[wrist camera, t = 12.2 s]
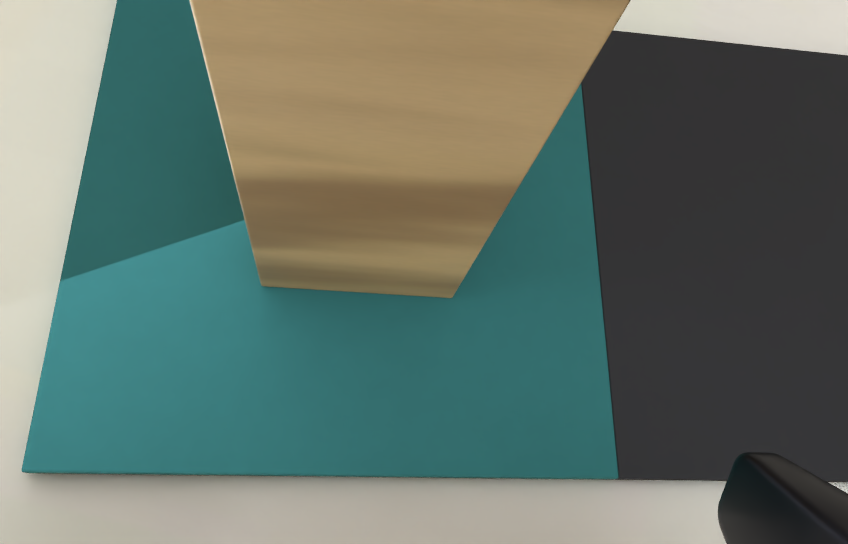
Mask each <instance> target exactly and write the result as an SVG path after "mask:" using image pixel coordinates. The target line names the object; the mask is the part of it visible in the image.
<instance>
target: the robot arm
mask: <svg viewBox="0 0 848 544" xmlns="http://www.w3.org/2000/svg"><path fill="white" fill-rule="evenodd" d="M718 520H719V524H720V528H721V530H722V533H723V536H724V538H725V541H726V543H727V544H848V494H847V493H845V492H844V491H842V490H840V489H838V488H837V487H835V486H833V485H832V484H830V483H828V482H826V481H825V480H823V479H821V478H819V477H818V476H816V475H814V474H812V473H811V472H809V471H807V470H805V469H804V468H802V467H800V466H798V465H797V464H795V463H793V462H791V461H790V460H788V459H786V458H784V457H783V456H781V455H779V454H776V453H770V452H745V453H742V454H740V455H739V456H738V457H737V458H736V459H735V461H734V464H733V466H732V469H731V472H730V474H729V477H728V480H727V483H726V485H725V488H724V491H723V493H722V496H721V499H720V501H719V505H718Z"/></svg>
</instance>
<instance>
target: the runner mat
mask: <svg viewBox="0 0 848 544" xmlns="http://www.w3.org/2000/svg"><path fill="white" fill-rule="evenodd" d="M745 452H770V453H776V454H779V455H781V456H783V457H784V458H786V459H788V460H790V461H791V462H793V463H795V464H797V465H798V466H800V467H802V468H804V469H805V470H807V471H809V472H811V473H812V474H814V475H816V476H818V477H819V478H821V479H823V480H825V481H826V482H848V56H847V55H838V54H828V53H819V52H809V51H800V50H791V49H781V48H772V47H763V46H753V45H744V44H734V43H725V42H716V41H706V40H697V39H687V38H678V37H669V36H659V35H650V34H640V33H631V32H622V31H612V32H611V34H610V35H609V37H608V39H607V40H606V42H605V44H604V45H603V47H602V49H601V50H600V52H599V54H598V55H597V57H596V59H595V60H594V62H593V64H592V65H591V67H590V69H589V70H588V72H587V74H586V75H585V77H584V79H583V80H582V82H581V84H580V85H579V87H578V89H577V90H576V92H575V94H574V95H573V97H572V99H571V100H570V102H569V104H568V105H567V107H566V109H565V110H564V112H563V114H562V115H561V117H560V119H559V120H558V122H557V124H556V126H555V127H554V129H553V131H552V132H551V134H550V136H549V137H548V139H547V141H546V142H545V144H544V146H543V147H542V149H541V151H540V152H539V154H538V156H537V157H536V159H535V161H534V162H533V164H532V166H531V167H530V169H529V171H528V172H527V174H526V176H525V177H524V179H523V181H522V182H521V184H520V186H519V187H518V189H517V191H516V192H515V194H514V196H513V197H512V199H511V201H510V202H509V204H508V206H507V207H506V209H505V211H504V212H503V214H502V216H501V217H500V219H499V221H498V222H497V224H496V226H495V227H494V229H493V231H492V232H491V234H490V236H489V237H488V239H487V241H486V242H485V244H484V246H483V247H482V249H481V251H480V252H479V254H478V256H477V258H476V259H475V261H474V263H473V264H472V266H471V268H470V269H469V271H468V273H467V274H466V276H465V278H464V279H463V281H462V283H461V284H460V286H459V288H458V289H457V291H456V293H455V294H454V296H453V297H452V298H442V297H426V296H410V295H394V294H378V293H362V292H346V291H331V290H315V289H299V288H283V287H267V286H262V285H261V283H260V279H259V275H258V271H257V267H256V263H255V259H254V255H253V251H252V247H251V243H250V239H249V235H248V231H247V227H246V223H245V219H244V215H243V211H242V207H241V203H240V199H239V195H238V191H237V187H236V183H235V179H234V175H233V172H232V168H231V164H230V160H229V156H228V152H227V148H226V144H225V140H224V136H223V132H222V128H221V124H220V120H219V116H218V112H217V108H216V104H215V100H214V96H213V92H212V88H211V84H210V80H209V76H208V72H207V68H206V64H205V60H204V56H203V52H202V48H201V44H200V40H199V36H198V32H197V28H196V24H195V20H194V16H193V12H192V9H191V5H190V1H189V0H117V4H116V9H115V14H114V19H113V24H112V29H111V34H110V39H109V44H108V49H107V53H106V58H105V63H104V68H103V73H102V78H101V83H100V88H99V93H98V98H97V102H96V107H95V112H94V117H93V122H92V127H91V132H90V137H89V142H88V147H87V152H86V156H85V161H84V166H83V171H82V176H81V181H80V186H79V191H78V196H77V201H76V206H75V210H74V215H73V220H72V225H71V230H70V235H69V240H68V245H67V250H66V255H65V260H64V264H63V269H62V274H61V279H60V284H59V289H58V294H57V299H56V304H55V309H54V314H53V318H52V323H51V328H50V333H49V338H48V343H47V348H46V353H45V358H44V363H43V368H42V372H41V377H40V382H39V387H38V392H37V397H36V402H35V407H34V412H33V417H32V422H31V426H30V431H29V436H28V441H27V446H26V451H25V456H24V461H23V466H22V472H26V473H69V474H160V475H250V476H341V477H431V478H521V479H615V480H702V481H727V480H728V477H729V474H730V472H731V469H732V466H733V464H734V461H735V459H736V458H737V457H738V456H739V455H740V454H742V453H745Z"/></svg>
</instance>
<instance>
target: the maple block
mask: <svg viewBox="0 0 848 544" xmlns="http://www.w3.org/2000/svg"><path fill="white" fill-rule="evenodd" d="M189 1H190V5H191V9H192V12H193V16H194V20H195V24H196V28H197V32H198V36H199V40H200V44H201V48H202V52H203V56H204V60H205V64H206V68H207V72H208V76H209V80H210V84H211V88H212V92H213V96H214V100H215V104H216V108H217V112H218V116H219V120H220V124H221V128H222V132H223V136H224V140H225V144H226V148H227V152H228V156H229V160H230V164H231V168H232V172H233V175H234V179H235V183H236V187H237V191H238V195H239V199H240V203H241V207H242V211H243V215H244V219H245V223H246V227H247V231H248V235H249V239H250V243H251V247H252V251H253V255H254V259H255V263H256V267H257V271H258V275H259V279H260V283H261V285H262V286H267V287H283V288H299V289H315V290H331V291H346V292H362V293H378V294H394V295H410V296H426V297H442V298H452V297H453V296H454V294H455V293H456V291H457V289H458V288H459V286H460V284H461V283H462V281H463V279H464V278H465V276H466V274H467V273H468V271H469V269H470V268H471V266H472V264H473V263H474V261H475V259H476V258H477V256H478V254H479V252H480V251H481V249H482V247H483V246H484V244H485V242H486V241H487V239H488V237H489V236H490V234H491V232H492V231H493V229H494V227H495V226H496V224H497V222H498V221H499V219H500V217H501V216H502V214H503V212H504V211H505V209H506V207H507V206H508V204H509V202H510V201H511V199H512V197H513V196H514V194H515V192H516V191H517V189H518V187H519V186H520V184H521V182H522V181H523V179H524V177H525V176H526V174H527V172H528V171H529V169H530V167H531V166H532V164H533V162H534V161H535V159H536V157H537V156H538V154H539V152H540V151H541V149H542V147H543V146H544V144H545V142H546V141H547V139H548V137H549V136H550V134H551V132H552V131H553V129H554V127H555V126H556V124H557V122H558V120H559V119H560V117H561V115H562V114H563V112H564V110H565V109H566V107H567V105H568V104H569V102H570V100H571V99H572V97H573V95H574V94H575V92H576V90H577V89H578V87H579V85H580V84H581V82H582V80H583V79H584V77H585V75H586V74H587V72H588V70H589V69H590V67H591V65H592V64H593V62H594V60H595V59H596V57H597V55H598V54H599V52H600V50H601V49H602V47H603V45H604V44H605V42H606V40H607V39H608V37H609V35H610V34H611V32H612V30H613V29H614V27H615V25H616V24H617V22H618V20H619V19H620V17H621V15H622V14H623V12H624V10H625V9H626V7H627V5H628V4H629V2H630V0H189Z"/></svg>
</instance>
